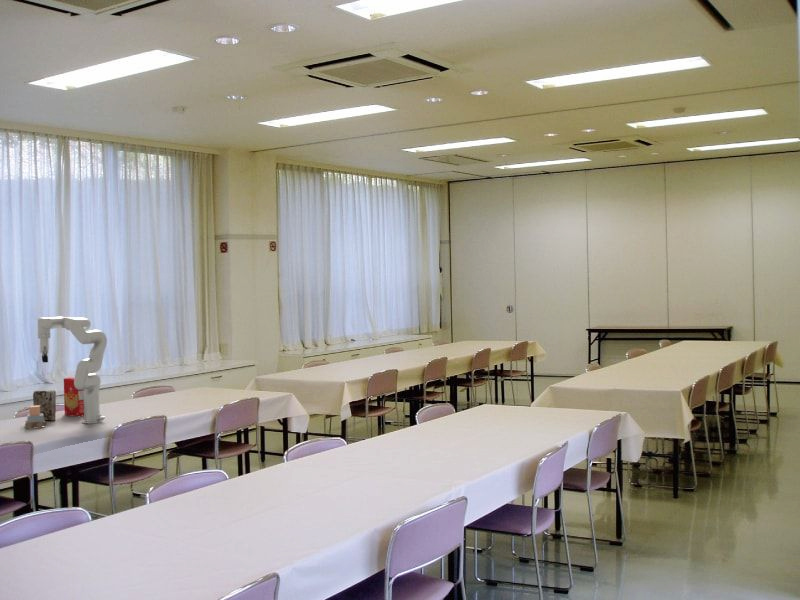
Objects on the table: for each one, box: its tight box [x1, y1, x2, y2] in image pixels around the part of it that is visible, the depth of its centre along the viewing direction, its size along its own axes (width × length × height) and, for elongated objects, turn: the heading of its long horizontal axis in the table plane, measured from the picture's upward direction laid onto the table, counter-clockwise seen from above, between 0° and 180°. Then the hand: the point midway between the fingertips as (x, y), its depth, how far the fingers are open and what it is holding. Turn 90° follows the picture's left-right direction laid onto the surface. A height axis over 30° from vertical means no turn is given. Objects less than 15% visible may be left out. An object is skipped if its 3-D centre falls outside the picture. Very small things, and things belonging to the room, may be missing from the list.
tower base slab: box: [25, 419, 46, 429], centre depth 514 cm, size 11×11×4 cm
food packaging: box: [63, 377, 85, 417], centre depth 553 cm, size 15×5×25 cm, turn 60°
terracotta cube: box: [29, 405, 40, 416], centre depth 514 cm, size 6×6×6 cm
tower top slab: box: [26, 413, 44, 423], centre depth 514 cm, size 9×9×4 cm
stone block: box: [32, 389, 57, 421], centre depth 535 cm, size 13×7×20 cm, turn 92°
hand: (45, 361), depth 540 cm, fingers open, 9 cm apart
